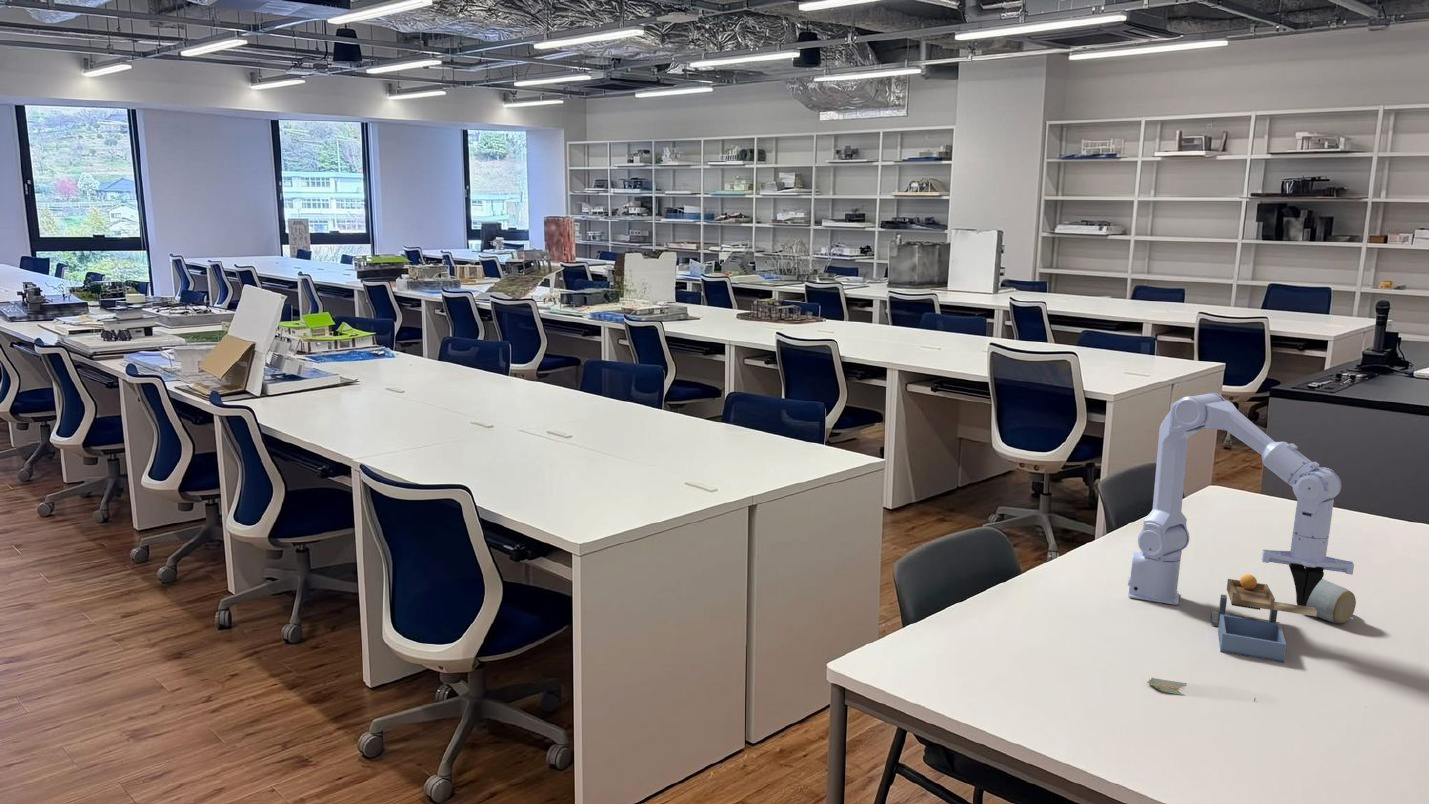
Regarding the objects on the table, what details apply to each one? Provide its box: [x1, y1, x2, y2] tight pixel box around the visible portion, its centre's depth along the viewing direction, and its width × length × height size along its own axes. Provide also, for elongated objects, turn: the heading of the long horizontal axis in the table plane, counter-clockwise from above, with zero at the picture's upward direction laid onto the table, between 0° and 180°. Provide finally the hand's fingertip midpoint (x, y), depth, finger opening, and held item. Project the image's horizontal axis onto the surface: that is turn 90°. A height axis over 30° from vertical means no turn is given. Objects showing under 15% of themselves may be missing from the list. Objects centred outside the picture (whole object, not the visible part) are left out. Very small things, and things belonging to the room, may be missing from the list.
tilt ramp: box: [1226, 578, 1317, 617], centre depth 194 cm, size 14×14×5 cm
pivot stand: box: [1210, 593, 1281, 628], centre depth 196 cm, size 12×6×5 cm, turn 66°
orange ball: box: [1239, 573, 1258, 590], centre depth 200 cm, size 3×3×3 cm
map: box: [1146, 677, 1256, 702], centre depth 169 cm, size 5×20×1 cm, turn 80°
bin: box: [1217, 614, 1287, 663], centre depth 187 cm, size 10×10×4 cm
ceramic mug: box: [1306, 578, 1357, 625], centre depth 202 cm, size 11×8×8 cm
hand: (1301, 604), depth 188 cm, fingers closed
